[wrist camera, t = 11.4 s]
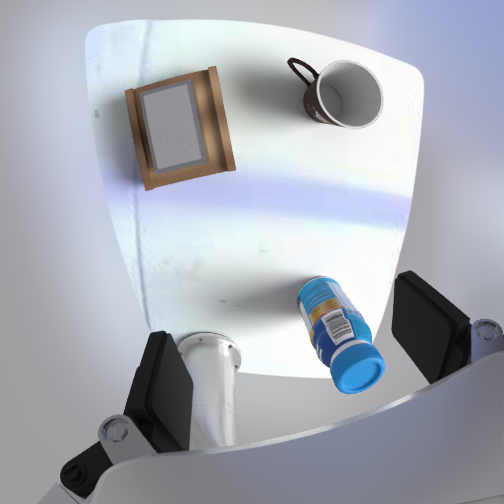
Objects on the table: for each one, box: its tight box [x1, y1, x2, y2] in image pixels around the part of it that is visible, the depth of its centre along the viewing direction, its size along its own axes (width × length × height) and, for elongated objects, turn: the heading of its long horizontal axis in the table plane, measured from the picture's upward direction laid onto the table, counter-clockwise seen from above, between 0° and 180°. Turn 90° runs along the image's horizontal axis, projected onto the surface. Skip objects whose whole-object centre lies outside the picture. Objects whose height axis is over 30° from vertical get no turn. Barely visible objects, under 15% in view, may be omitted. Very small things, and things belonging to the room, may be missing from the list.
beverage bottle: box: [297, 277, 385, 394], centre depth 39 cm, size 8×8×20 cm
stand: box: [125, 66, 236, 191], centre depth 34 cm, size 14×12×5 cm
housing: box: [139, 79, 210, 175], centre depth 30 cm, size 6×10×5 cm, turn 10°
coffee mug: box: [287, 58, 383, 129], centre depth 31 cm, size 12×9×10 cm
